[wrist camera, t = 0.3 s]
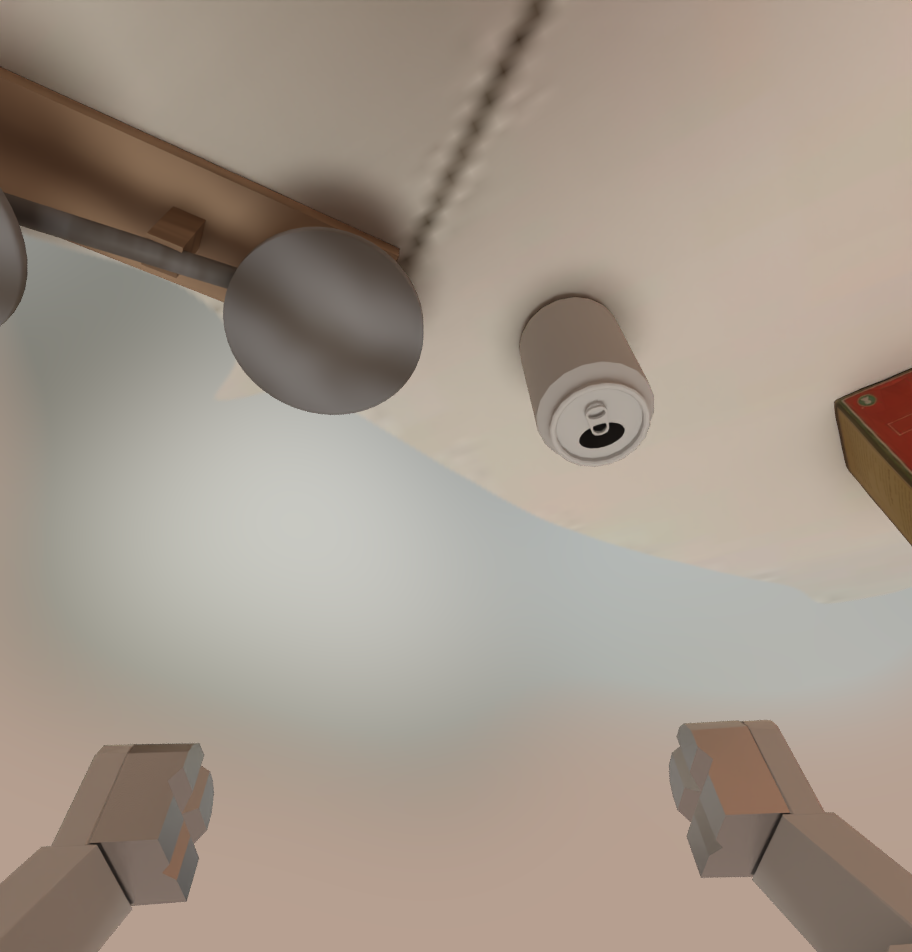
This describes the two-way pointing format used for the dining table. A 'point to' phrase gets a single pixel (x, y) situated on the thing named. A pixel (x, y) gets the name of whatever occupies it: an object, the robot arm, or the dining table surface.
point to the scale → (211, 249)
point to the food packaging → (881, 445)
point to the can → (585, 383)
